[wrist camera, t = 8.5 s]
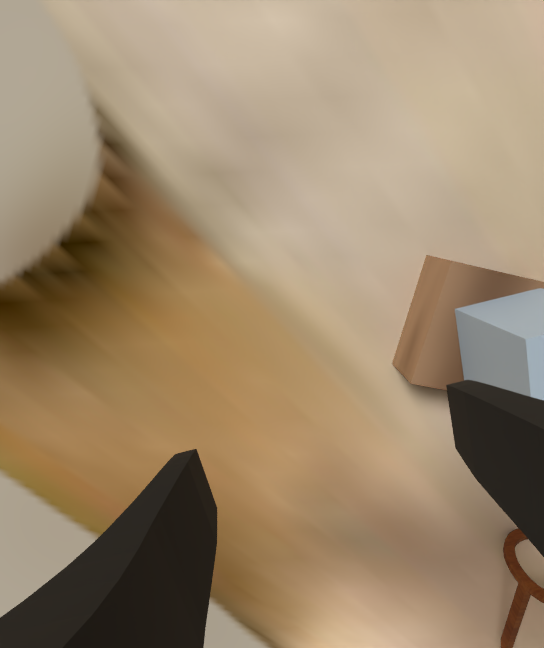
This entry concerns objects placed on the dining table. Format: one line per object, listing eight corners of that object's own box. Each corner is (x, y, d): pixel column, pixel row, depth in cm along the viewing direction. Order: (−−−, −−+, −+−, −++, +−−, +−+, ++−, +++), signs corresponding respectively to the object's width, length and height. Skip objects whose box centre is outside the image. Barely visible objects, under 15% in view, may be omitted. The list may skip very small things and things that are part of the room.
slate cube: (540, 287, 18) (642, 310, 14) (546, 367, 19) (643, 415, 15) (454, 308, 18) (525, 339, 14) (465, 387, 19) (535, 441, 15)
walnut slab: (529, 278, 21) (572, 288, 18) (489, 381, 23) (524, 405, 20) (423, 254, 21) (451, 260, 18) (390, 361, 22) (410, 383, 19)
